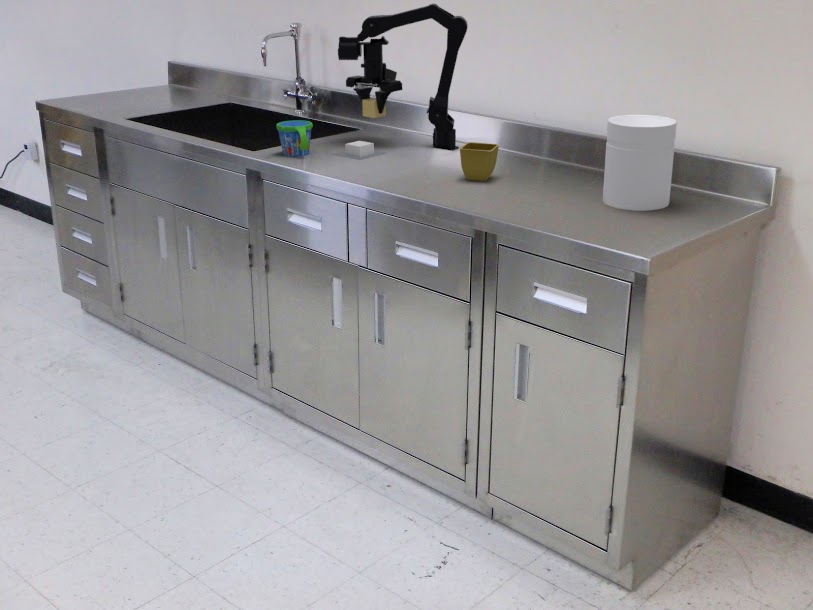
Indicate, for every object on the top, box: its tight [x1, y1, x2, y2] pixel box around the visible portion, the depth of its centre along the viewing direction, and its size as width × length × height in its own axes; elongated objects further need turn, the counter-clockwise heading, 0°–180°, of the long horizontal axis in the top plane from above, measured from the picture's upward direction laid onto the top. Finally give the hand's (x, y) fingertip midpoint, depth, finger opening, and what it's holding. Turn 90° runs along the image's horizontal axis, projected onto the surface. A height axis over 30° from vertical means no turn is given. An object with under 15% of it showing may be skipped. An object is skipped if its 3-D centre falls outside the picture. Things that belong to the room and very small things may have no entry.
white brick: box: [344, 140, 375, 157], centre depth 282 cm, size 6×6×3 cm
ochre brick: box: [361, 97, 387, 119], centre depth 288 cm, size 5×5×5 cm
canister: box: [602, 114, 678, 212], centre depth 229 cm, size 16×16×20 cm
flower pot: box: [459, 141, 500, 182], centre depth 255 cm, size 9×9×9 cm
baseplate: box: [331, 149, 387, 161], centre depth 283 cm, size 12×12×1 cm
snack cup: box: [276, 119, 314, 158], centre depth 282 cm, size 16×10×10 cm
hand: (374, 112), depth 289 cm, fingers closed on ochre brick, 5 cm apart
